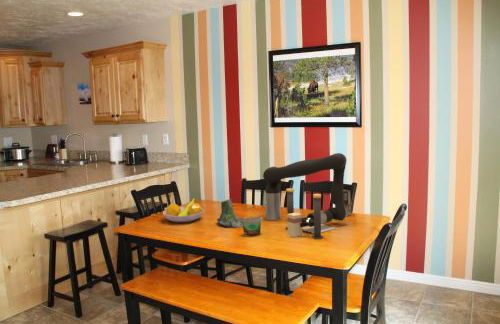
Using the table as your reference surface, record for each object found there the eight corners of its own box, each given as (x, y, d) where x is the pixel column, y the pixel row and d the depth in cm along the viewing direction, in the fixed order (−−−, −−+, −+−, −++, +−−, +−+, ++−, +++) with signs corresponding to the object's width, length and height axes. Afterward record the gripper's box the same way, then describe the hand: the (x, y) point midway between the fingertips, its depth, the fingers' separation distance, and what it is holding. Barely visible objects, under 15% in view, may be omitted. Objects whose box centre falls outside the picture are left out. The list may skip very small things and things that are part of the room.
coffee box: (351, 214, 272) (351, 190, 270) (348, 216, 266) (348, 191, 264) (337, 213, 276) (337, 189, 274) (334, 215, 270) (334, 190, 268)
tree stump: (245, 229, 245) (237, 201, 244) (215, 236, 252) (206, 207, 250) (254, 220, 263) (246, 193, 261) (225, 226, 269) (217, 199, 267)
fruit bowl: (184, 227, 252) (183, 209, 251) (154, 221, 269) (153, 204, 267) (215, 217, 274) (214, 200, 273) (186, 212, 291) (185, 196, 289)
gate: (283, 228, 243) (282, 188, 240) (291, 226, 247) (290, 187, 244) (317, 240, 221) (316, 196, 218) (325, 237, 224) (325, 194, 221)
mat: (301, 229, 241) (301, 228, 240) (321, 224, 250) (321, 223, 250) (315, 234, 231) (315, 233, 231) (336, 228, 240) (336, 227, 240)
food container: (244, 237, 228) (243, 220, 227) (241, 234, 234) (240, 217, 233) (265, 235, 232) (265, 217, 230) (262, 232, 238) (261, 215, 236)
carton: (287, 235, 231) (287, 214, 229) (295, 233, 234) (294, 212, 232) (294, 237, 226) (294, 216, 225) (302, 235, 229) (301, 214, 228)
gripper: (308, 210, 244) (286, 214, 235) (325, 214, 232) (304, 219, 223) (308, 222, 245) (287, 227, 236) (325, 227, 233) (304, 233, 224)
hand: (295, 223), depth 229 cm, fingers open, 8 cm apart
